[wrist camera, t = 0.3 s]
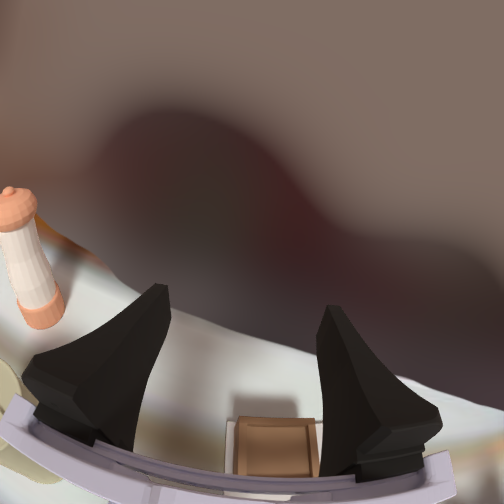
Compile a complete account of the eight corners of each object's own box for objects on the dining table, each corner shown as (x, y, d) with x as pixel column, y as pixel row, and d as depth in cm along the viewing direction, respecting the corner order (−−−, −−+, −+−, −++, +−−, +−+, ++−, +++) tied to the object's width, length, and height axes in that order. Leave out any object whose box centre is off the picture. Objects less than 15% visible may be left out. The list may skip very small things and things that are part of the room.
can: (58, 500, 12) (-9, 476, 6) (-3, 451, 13) (-68, 402, 6) (87, 436, 20) (39, 385, 13) (27, 397, 20) (-23, 333, 14)
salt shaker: (64, 290, 35) (39, 171, 25) (66, 325, 31) (28, 195, 20) (25, 297, 32) (-8, 182, 21) (23, 332, 27) (-27, 208, 16)
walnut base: (306, 489, 19) (321, 485, 17) (232, 491, 19) (237, 488, 17) (302, 429, 26) (314, 417, 24) (234, 427, 25) (239, 415, 23)
